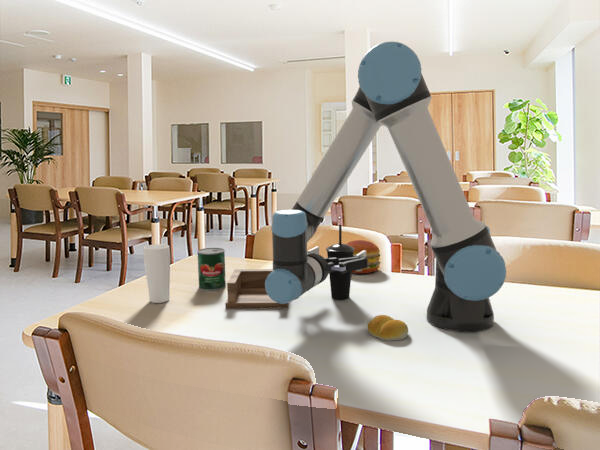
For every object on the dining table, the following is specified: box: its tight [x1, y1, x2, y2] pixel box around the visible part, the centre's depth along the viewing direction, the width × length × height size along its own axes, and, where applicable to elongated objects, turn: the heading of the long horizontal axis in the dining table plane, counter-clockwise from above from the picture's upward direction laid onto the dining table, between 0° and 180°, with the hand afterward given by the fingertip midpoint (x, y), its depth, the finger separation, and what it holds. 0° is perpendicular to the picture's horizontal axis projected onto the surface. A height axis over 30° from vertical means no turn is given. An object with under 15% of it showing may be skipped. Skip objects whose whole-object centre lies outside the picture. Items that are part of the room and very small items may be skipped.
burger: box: [346, 239, 382, 274], centre depth 170 cm, size 13×14×10 cm
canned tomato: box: [196, 247, 227, 292], centre depth 153 cm, size 8×8×11 cm
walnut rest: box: [224, 268, 289, 310], centre depth 142 cm, size 16×16×6 cm
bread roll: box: [366, 314, 409, 342], centre depth 116 cm, size 8×9×4 cm
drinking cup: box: [325, 224, 355, 301], centre depth 141 cm, size 8×8×20 cm
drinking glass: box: [143, 243, 171, 304], centre depth 140 cm, size 7×7×15 cm
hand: (340, 253), depth 142 cm, fingers open, 13 cm apart
